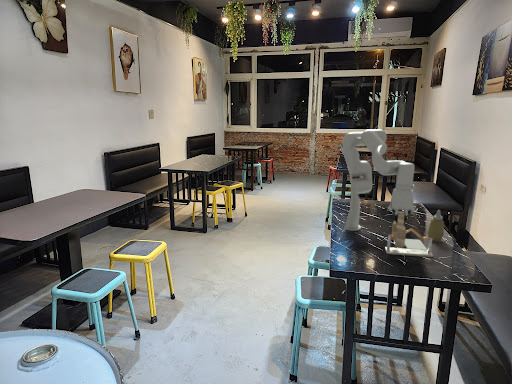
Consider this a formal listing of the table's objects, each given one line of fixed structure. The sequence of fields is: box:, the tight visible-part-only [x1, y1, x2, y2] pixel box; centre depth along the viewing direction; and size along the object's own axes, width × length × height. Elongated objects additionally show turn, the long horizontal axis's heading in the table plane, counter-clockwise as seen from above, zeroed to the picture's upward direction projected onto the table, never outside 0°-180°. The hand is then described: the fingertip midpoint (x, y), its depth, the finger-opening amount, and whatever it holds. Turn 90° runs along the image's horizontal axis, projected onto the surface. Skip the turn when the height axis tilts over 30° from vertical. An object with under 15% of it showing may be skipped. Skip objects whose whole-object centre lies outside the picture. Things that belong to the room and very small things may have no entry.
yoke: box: [390, 211, 407, 248], centre depth 168 cm, size 11×4×17 cm, turn 170°
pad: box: [404, 238, 428, 250], centre depth 181 cm, size 14×10×1 cm
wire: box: [384, 228, 434, 258], centre depth 169 cm, size 6×22×14 cm, turn 80°
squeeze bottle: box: [427, 209, 445, 242], centre depth 186 cm, size 8×8×18 cm
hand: (399, 221), depth 168 cm, fingers closed on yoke, 3 cm apart
